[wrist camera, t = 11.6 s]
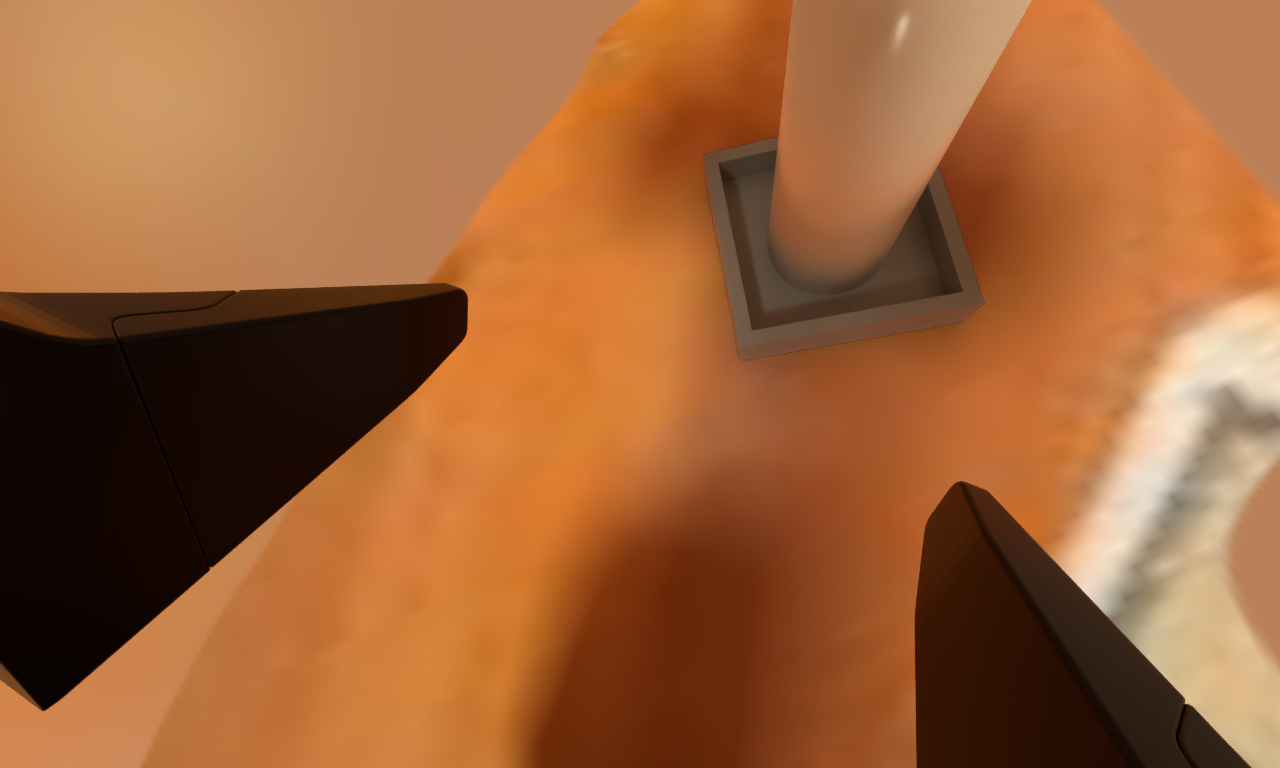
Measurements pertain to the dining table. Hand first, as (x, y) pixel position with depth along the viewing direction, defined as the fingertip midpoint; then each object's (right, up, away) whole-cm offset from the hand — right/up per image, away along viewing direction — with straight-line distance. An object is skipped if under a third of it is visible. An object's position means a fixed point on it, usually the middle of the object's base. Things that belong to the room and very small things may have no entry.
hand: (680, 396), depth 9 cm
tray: (+8, +6, +14) cm, 17 cm away
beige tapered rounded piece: (+7, +6, +14) cm, 17 cm away
